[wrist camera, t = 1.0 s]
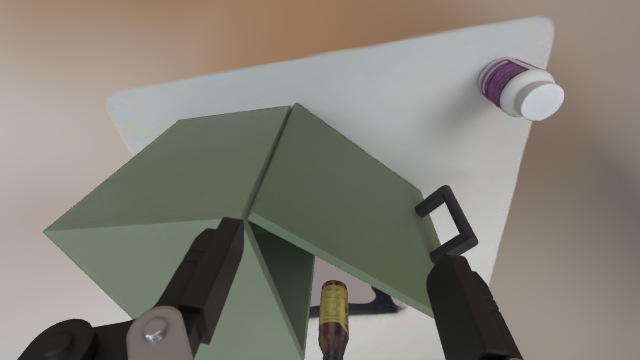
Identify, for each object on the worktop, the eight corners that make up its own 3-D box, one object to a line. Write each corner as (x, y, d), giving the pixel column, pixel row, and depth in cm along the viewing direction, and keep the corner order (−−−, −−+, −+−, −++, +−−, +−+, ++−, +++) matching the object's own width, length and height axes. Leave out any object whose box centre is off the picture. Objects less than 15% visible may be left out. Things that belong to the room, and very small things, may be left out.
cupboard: (289, 105, 40) (239, 217, 21) (318, 230, 55) (303, 364, 35) (178, 119, 43) (41, 231, 23) (233, 235, 58) (177, 363, 38)
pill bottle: (474, 100, 38) (508, 130, 30) (480, 60, 35) (519, 81, 27) (516, 94, 37) (562, 123, 29) (526, 52, 34) (580, 72, 26)
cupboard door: (319, 69, 37) (292, 161, 18) (447, 170, 45) (527, 310, 25) (292, 107, 40) (246, 219, 21) (416, 195, 48) (465, 335, 29)
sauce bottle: (343, 295, 68) (343, 393, 52) (318, 290, 67) (310, 387, 51) (351, 280, 64) (354, 380, 48) (325, 275, 63) (319, 374, 47)
